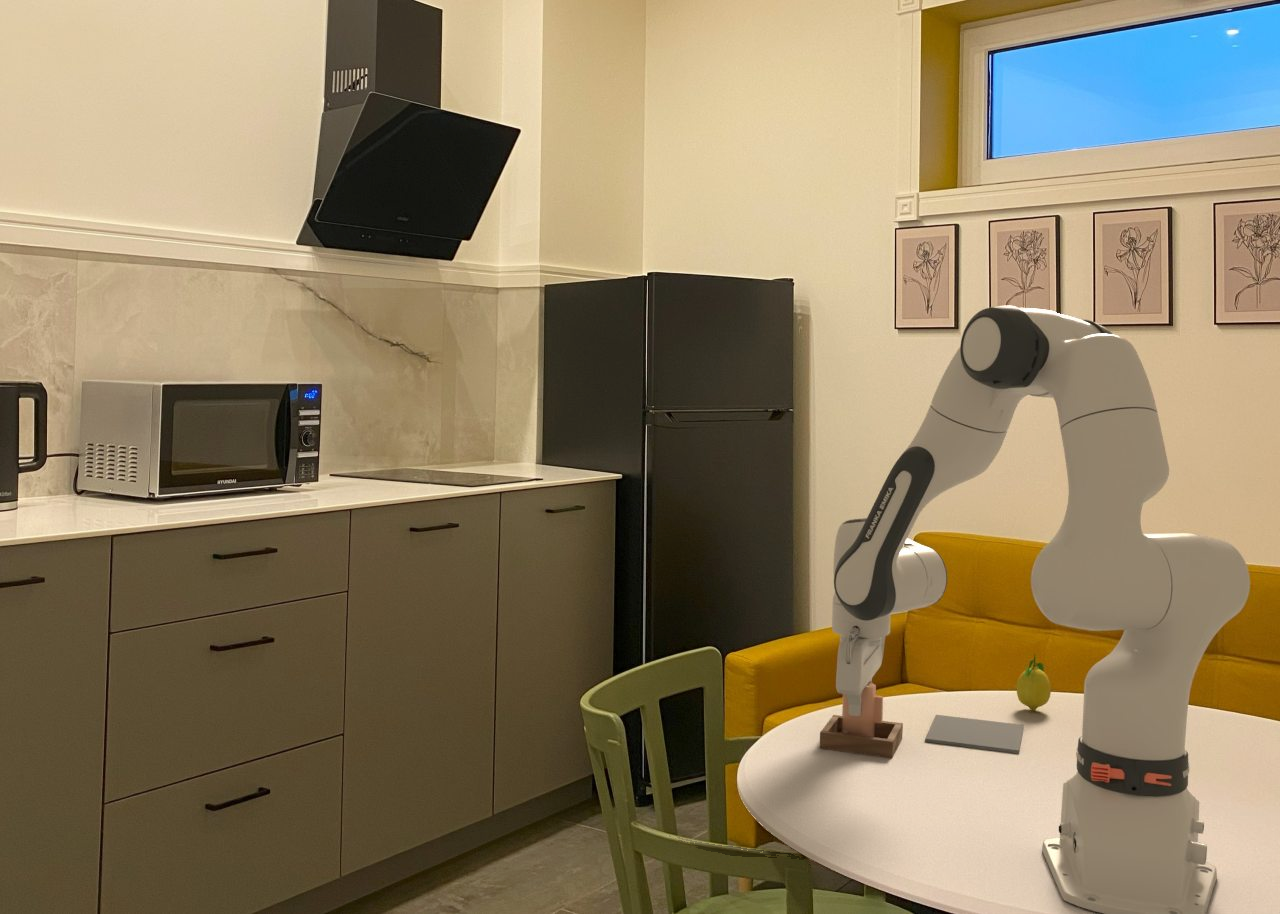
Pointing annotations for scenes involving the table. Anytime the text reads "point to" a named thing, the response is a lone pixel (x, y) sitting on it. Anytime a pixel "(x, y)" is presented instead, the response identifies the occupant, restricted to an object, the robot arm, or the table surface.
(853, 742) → the brown wooden frame
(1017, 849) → the table surface
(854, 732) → the capsule with tab
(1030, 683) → the lemon
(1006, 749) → the mat
